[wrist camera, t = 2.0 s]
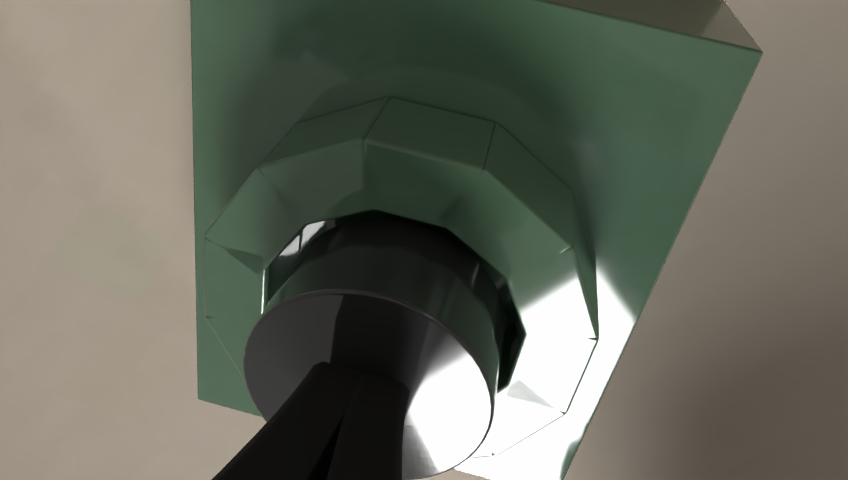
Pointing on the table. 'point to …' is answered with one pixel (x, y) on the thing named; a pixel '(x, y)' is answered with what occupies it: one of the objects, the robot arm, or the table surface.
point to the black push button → (389, 332)
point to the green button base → (463, 170)
